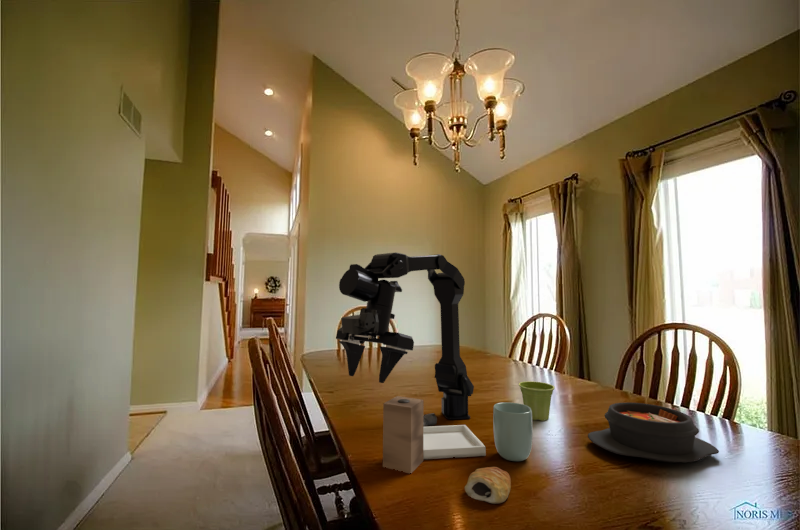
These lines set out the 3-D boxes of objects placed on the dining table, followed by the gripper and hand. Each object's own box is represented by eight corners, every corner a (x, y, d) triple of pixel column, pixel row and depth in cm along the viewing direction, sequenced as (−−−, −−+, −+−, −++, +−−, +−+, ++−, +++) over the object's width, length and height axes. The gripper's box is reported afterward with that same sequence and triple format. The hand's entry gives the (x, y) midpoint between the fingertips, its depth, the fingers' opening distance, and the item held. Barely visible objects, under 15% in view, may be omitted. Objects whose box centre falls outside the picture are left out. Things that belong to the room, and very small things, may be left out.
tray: (465, 432, 89) (465, 424, 90) (485, 455, 76) (485, 446, 77) (412, 435, 87) (412, 427, 88) (423, 459, 74) (423, 450, 75)
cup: (536, 467, 71) (534, 414, 72) (494, 463, 73) (494, 411, 74) (530, 451, 79) (529, 403, 80) (492, 448, 80) (492, 401, 81)
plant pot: (562, 419, 100) (561, 386, 101) (541, 425, 95) (540, 391, 95) (533, 410, 108) (532, 379, 108) (512, 415, 102) (511, 384, 103)
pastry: (483, 475, 69) (483, 453, 69) (519, 485, 65) (519, 463, 65) (462, 497, 61) (462, 473, 61) (502, 511, 57) (501, 485, 58)
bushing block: (396, 455, 76) (397, 395, 77) (423, 461, 74) (423, 399, 75) (382, 466, 71) (383, 402, 72) (410, 473, 68) (411, 406, 69)
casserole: (671, 434, 89) (669, 399, 90) (748, 471, 71) (744, 426, 71) (571, 435, 88) (570, 400, 89) (622, 473, 69) (620, 427, 70)
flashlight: (431, 423, 96) (430, 412, 96) (437, 425, 94) (436, 414, 94) (394, 430, 91) (394, 418, 91) (400, 432, 88) (400, 420, 89)
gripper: (325, 297, 82) (308, 368, 78) (385, 298, 70) (369, 383, 65) (360, 308, 90) (347, 374, 86) (420, 311, 77) (408, 388, 73)
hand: (365, 379), depth 77 cm, fingers open, 9 cm apart
